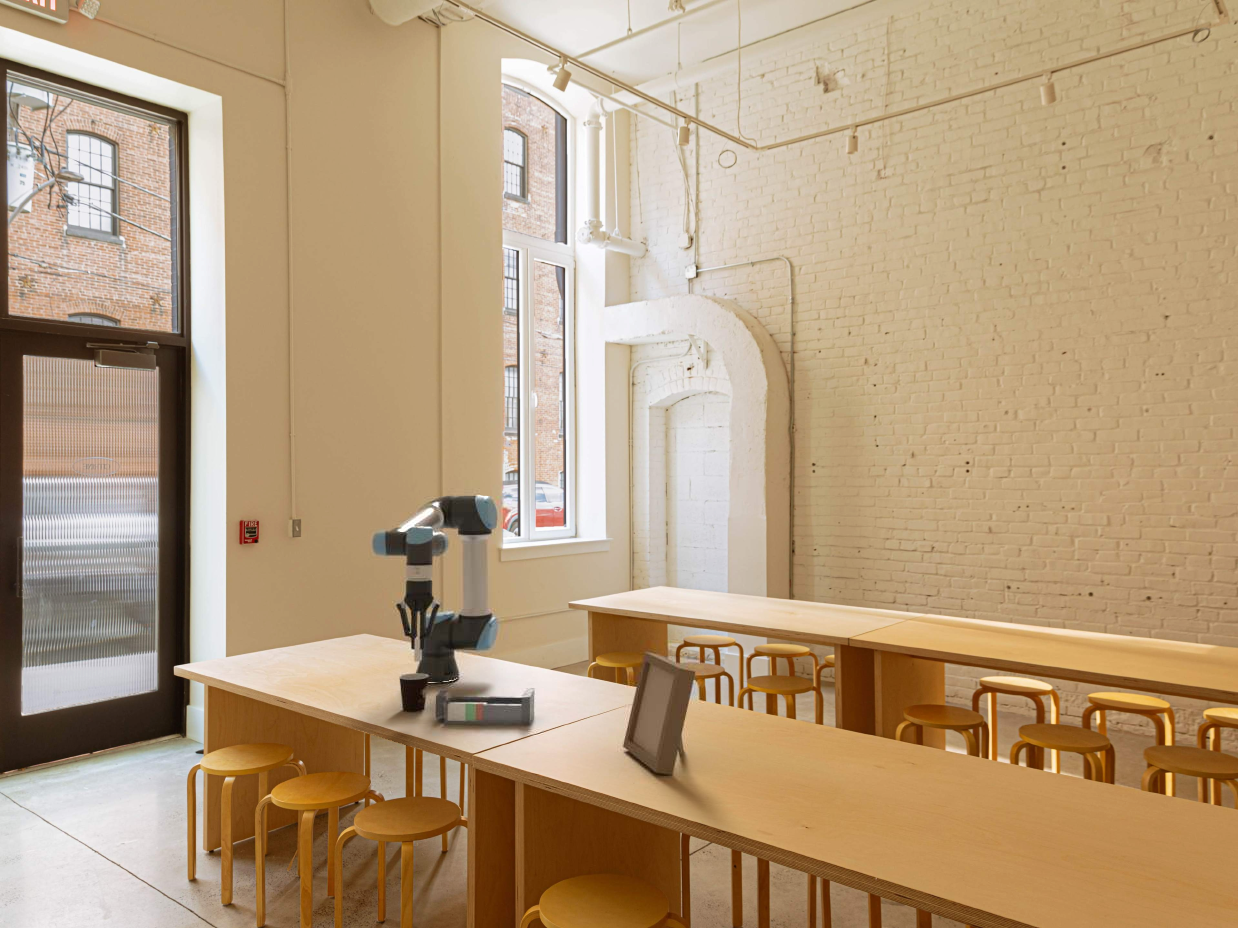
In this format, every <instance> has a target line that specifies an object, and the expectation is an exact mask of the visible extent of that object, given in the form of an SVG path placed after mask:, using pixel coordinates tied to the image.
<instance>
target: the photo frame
mask: <svg viewBox="0 0 1238 928" xmlns="http://www.w3.org/2000/svg"><path fill="white" fill-rule="evenodd" d="M641 663H642V664H641V667H640V671H639V675H638V681H637V684H636V688H635V691H634V692H635V693H634V698H633V700H632V701H633V702H632V706H631V710H630V714H629V718H628V723H627V727H626V731H625V735H624V740H623V744H622V747H623V748H625V749H626V750H627V751H628V752H629V753H631V754H632V755H633V756H634V757H636V758H637V759H638V760H639V761H641V763H644V765H645V766H646V767H649V769H650V770H652V771H654V772H655V773H656V774H663V775H669V776H670V775H671V776H673V775H674V770H675V766H676V761H677V756H678V755H679V756H682V755H683V753H684V743H683V736H682V735H683V730H684V729H683V728H684V725H685V721H686V717H687V713H688V707H689V703H690V699H691V694H692V689H693V685H694V682H695V681H694V680H695V676H696V673H697V672H696V671H695V670H694V669H692V668H688V667H687V666H685V665H682V664H680V663H678V662H676V661H673V660H672V659H669V658H667V657H665V656H663V655H660V654H656V653H653V652H647V651H644V653H643V659H642V662H641Z"/></svg>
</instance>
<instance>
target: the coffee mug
mask: <svg viewBox="0 0 1238 928" xmlns="http://www.w3.org/2000/svg"><path fill="white" fill-rule="evenodd" d="M428 677H429V676H428V675H427V674H421V673H416V672H415V673H406V674H402V675H400V676H399V686H400V687H399V688H400V694H401V695H400V696H401V697H400V698H401V704H402V711H403V712H405V711H406V713H418V711H419V712H423V711H425V708H426V701H427V700H426V699H427V690H428V684H429V683H428ZM422 710H423V711H422Z"/></svg>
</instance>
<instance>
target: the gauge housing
mask: <svg viewBox="0 0 1238 928" xmlns="http://www.w3.org/2000/svg"><path fill="white" fill-rule="evenodd" d="M450 698H452V702H478V703H452V702H449V704H445V713H444V716H443V719H444V721H443V723H444V724H443V726H444V725H447V726H449V725H450V726H453V725H454V726H455V725H456V726H457V725H458V726H519V725H526V726H527V725H529V726H531V724H532V722H533V719H534V716H535V688H534V687H533V688H532V687H527V688H525V690H524V692H523V693H522V695H521V696H518V695H516V696H514V695H508V696H507V695H506V696H505V695H501V696H499V695H498V696H497V695H451V697H450ZM484 703H487V704H484ZM531 721H532V722H531ZM526 726H525V727H526ZM529 726H528V727H529Z"/></svg>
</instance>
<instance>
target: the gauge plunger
mask: <svg viewBox="0 0 1238 928" xmlns="http://www.w3.org/2000/svg"><path fill="white" fill-rule="evenodd" d="M448 693H449V692H448V690H440V691H439V692H438V694H436V695H435V718H444V713H445V704H449V702H452V698H451V697H448V696H449V695H448ZM452 703H478V702H452ZM484 704H487V703H484Z"/></svg>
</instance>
